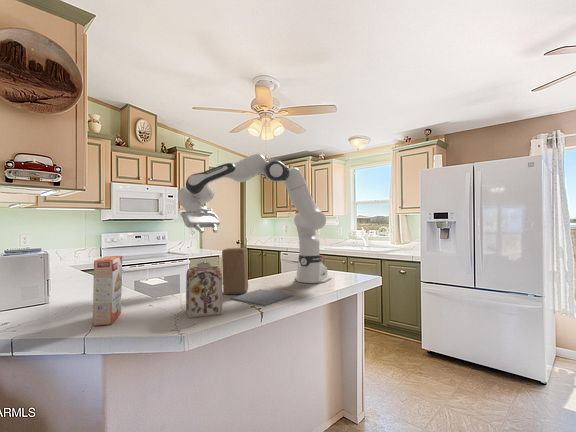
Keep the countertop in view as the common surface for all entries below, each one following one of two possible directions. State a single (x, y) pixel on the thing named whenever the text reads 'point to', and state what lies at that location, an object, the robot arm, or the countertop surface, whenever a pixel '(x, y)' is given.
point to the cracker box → (107, 290)
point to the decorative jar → (203, 290)
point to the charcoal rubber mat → (261, 297)
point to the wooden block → (235, 271)
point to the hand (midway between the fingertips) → (209, 232)
